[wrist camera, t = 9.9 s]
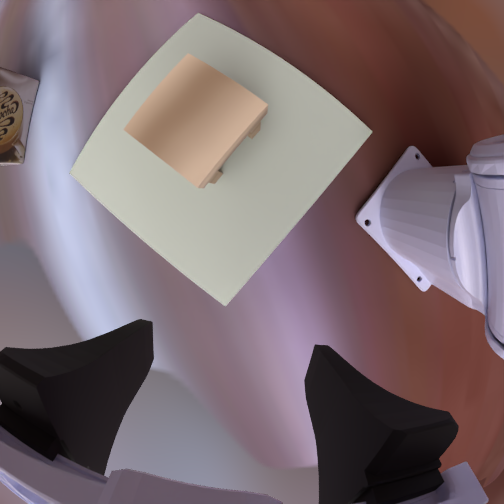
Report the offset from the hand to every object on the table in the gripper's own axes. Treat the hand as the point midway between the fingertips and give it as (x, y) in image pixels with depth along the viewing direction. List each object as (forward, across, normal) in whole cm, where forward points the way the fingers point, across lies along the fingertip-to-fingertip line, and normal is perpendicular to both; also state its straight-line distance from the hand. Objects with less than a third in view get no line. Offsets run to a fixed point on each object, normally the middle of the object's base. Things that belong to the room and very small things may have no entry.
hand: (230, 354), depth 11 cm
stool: (+9, +4, -10) cm, 14 cm away
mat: (+9, +4, -10) cm, 14 cm away
